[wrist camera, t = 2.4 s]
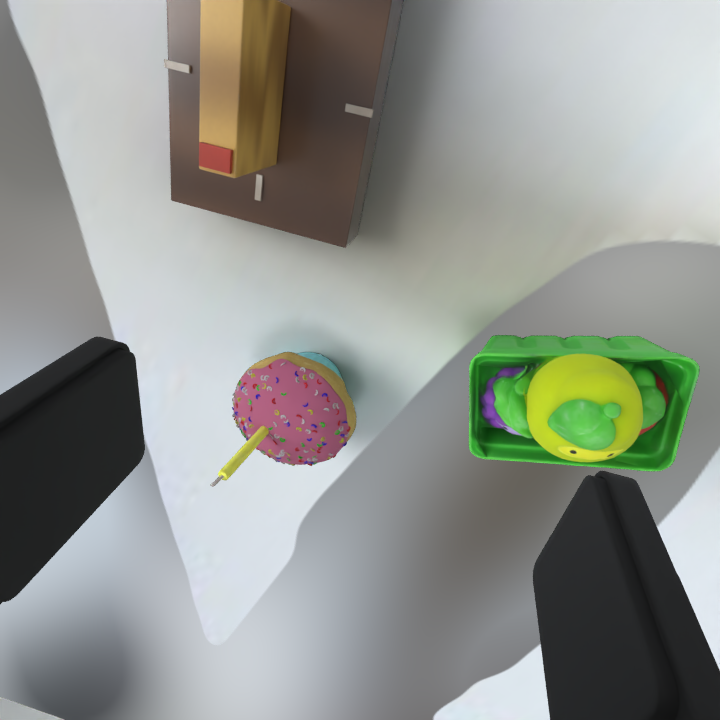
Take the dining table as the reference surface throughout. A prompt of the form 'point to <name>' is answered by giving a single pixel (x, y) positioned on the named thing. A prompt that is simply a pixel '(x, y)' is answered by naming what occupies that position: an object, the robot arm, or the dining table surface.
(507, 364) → the fruit basket
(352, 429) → the cupcake
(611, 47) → the dining table surface
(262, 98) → the tap handle
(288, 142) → the plate
